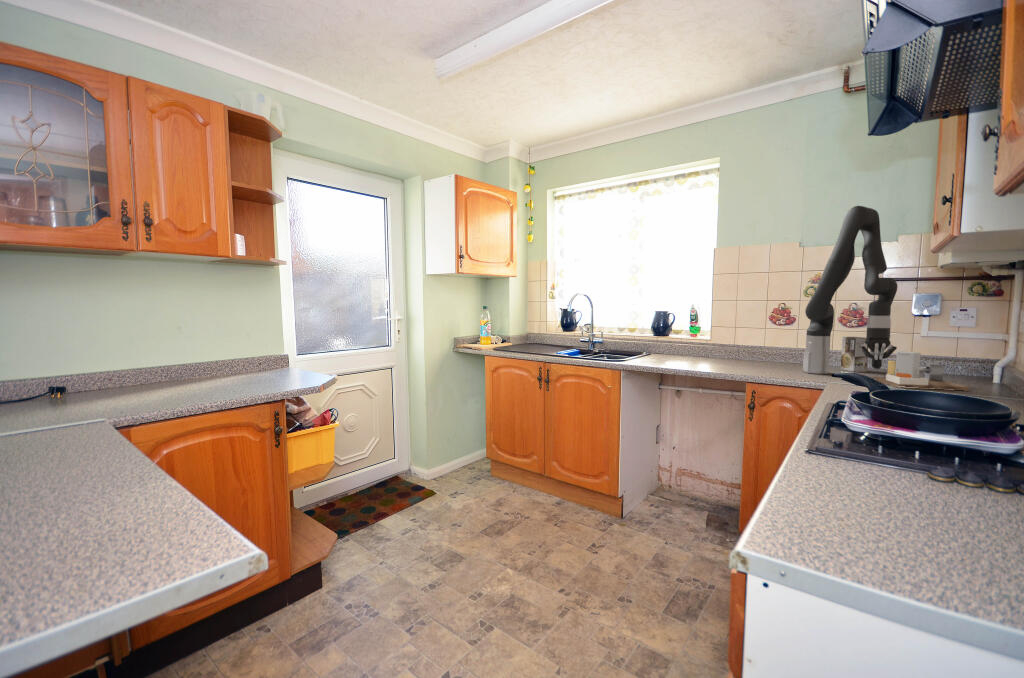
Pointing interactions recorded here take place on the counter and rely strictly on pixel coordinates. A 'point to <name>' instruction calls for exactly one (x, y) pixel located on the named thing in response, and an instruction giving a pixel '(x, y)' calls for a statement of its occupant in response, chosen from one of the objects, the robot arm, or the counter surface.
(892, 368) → the shaft
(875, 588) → the counter surface
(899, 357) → the skincare box
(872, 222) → the robot arm
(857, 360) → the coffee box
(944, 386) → the base plate
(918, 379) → the sleeve
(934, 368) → the bearing block
